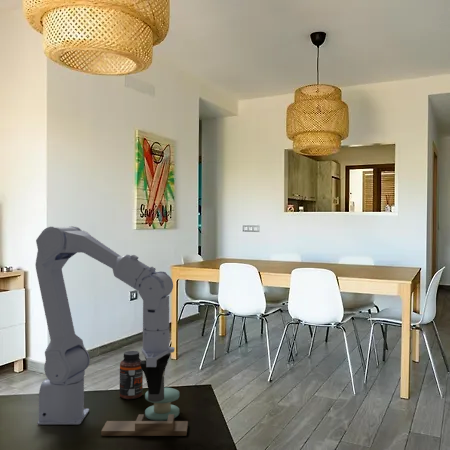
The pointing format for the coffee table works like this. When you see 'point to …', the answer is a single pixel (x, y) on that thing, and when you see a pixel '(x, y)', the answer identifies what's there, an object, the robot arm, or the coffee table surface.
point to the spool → (163, 406)
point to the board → (145, 427)
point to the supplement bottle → (131, 376)
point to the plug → (157, 396)
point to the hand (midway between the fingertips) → (155, 390)
